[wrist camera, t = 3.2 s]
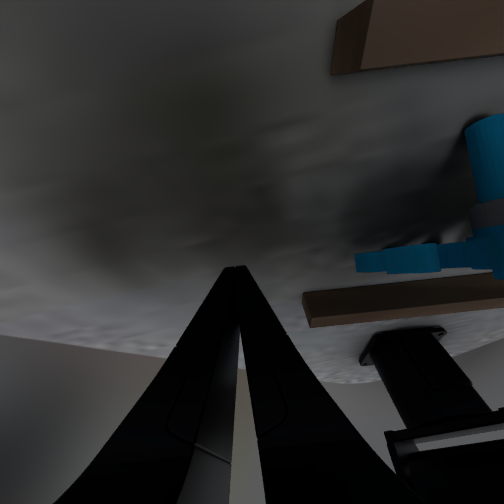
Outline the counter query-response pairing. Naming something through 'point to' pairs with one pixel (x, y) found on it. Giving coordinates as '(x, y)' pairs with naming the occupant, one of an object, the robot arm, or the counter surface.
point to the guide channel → (400, 55)
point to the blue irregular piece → (481, 216)
